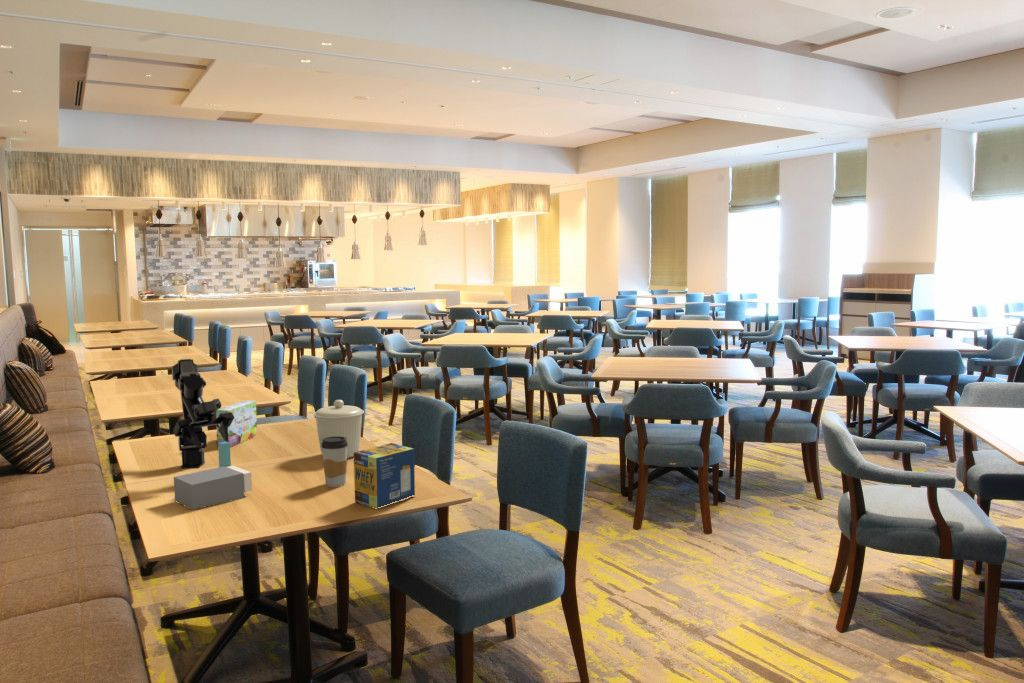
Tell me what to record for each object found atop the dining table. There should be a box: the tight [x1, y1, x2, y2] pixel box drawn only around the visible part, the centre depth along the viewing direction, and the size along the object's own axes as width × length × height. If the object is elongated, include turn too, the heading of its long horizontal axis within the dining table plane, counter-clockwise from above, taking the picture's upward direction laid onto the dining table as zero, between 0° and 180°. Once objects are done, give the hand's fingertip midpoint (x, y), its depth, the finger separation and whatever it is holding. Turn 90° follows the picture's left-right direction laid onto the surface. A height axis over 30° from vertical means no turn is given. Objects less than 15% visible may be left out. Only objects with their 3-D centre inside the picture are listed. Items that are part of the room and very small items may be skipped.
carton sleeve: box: [173, 466, 245, 510], centre depth 234 cm, size 16×12×8 cm
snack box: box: [215, 400, 258, 448], centre depth 307 cm, size 21×6×15 cm, turn 168°
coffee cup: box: [321, 436, 348, 488], centre depth 248 cm, size 8×8×15 cm
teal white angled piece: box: [217, 441, 253, 493], centre depth 237 cm, size 17×16×13 cm
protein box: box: [353, 442, 416, 509], centre depth 232 cm, size 10×15×16 cm
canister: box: [313, 399, 365, 459], centre depth 284 cm, size 18×18×21 cm
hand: (214, 444), depth 250 cm, fingers open, 9 cm apart
